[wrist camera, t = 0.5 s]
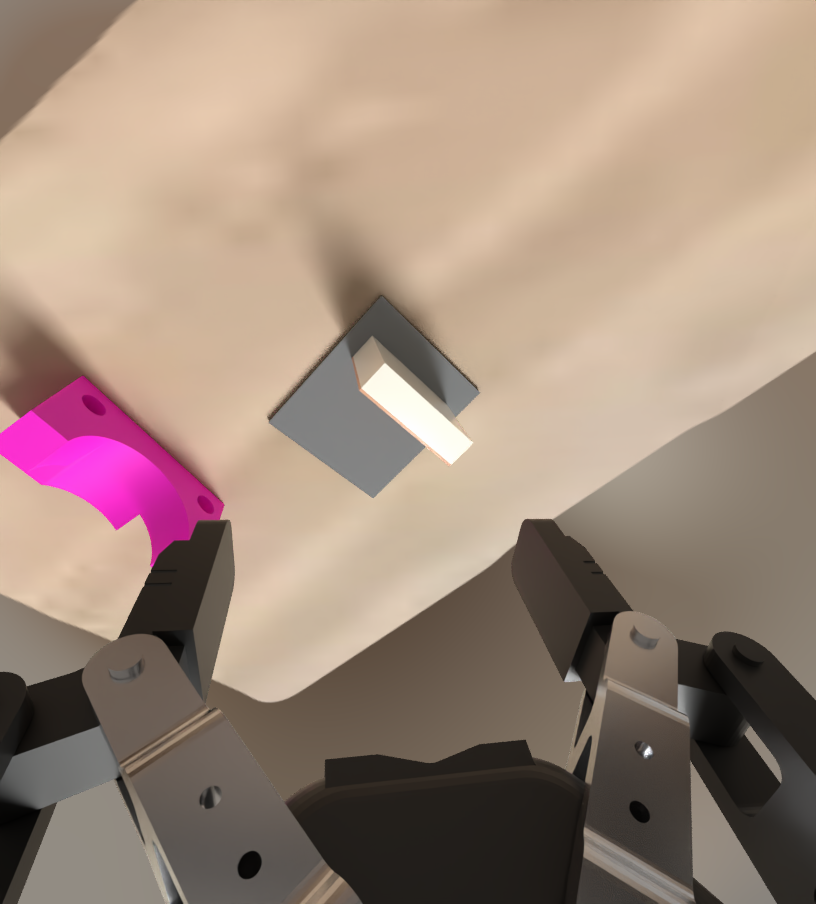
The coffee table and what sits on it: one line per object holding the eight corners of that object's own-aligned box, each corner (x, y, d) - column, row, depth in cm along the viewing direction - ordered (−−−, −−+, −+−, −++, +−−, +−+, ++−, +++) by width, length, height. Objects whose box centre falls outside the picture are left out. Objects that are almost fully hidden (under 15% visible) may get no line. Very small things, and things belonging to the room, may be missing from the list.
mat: (381, 295, 36) (381, 296, 36) (478, 391, 42) (480, 392, 41) (269, 420, 39) (268, 422, 39) (372, 496, 45) (373, 498, 44)
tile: (372, 335, 37) (384, 362, 30) (446, 404, 41) (473, 443, 34) (351, 358, 38) (359, 390, 31) (426, 424, 42) (449, 466, 35)
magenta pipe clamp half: (24, 420, 36) (-41, 465, 30) (84, 374, 36) (30, 410, 29) (172, 539, 43) (146, 597, 37) (224, 503, 42) (207, 556, 36)
